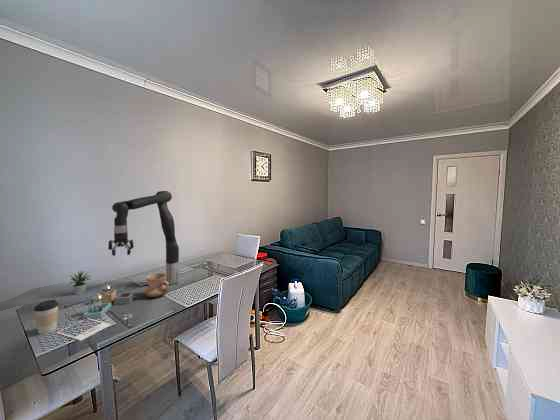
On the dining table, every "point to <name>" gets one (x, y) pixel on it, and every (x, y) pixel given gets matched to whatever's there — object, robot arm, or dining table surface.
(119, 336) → the dining table surface
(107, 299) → the cup
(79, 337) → the photo frame
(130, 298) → the checker cradle
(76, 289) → the house plant
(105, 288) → the cell grey
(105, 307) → the trough
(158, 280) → the ceramic jug
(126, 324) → the dining table surface
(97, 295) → the cell green
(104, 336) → the dining table surface
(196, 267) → the dining table surface
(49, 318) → the coffee cup
